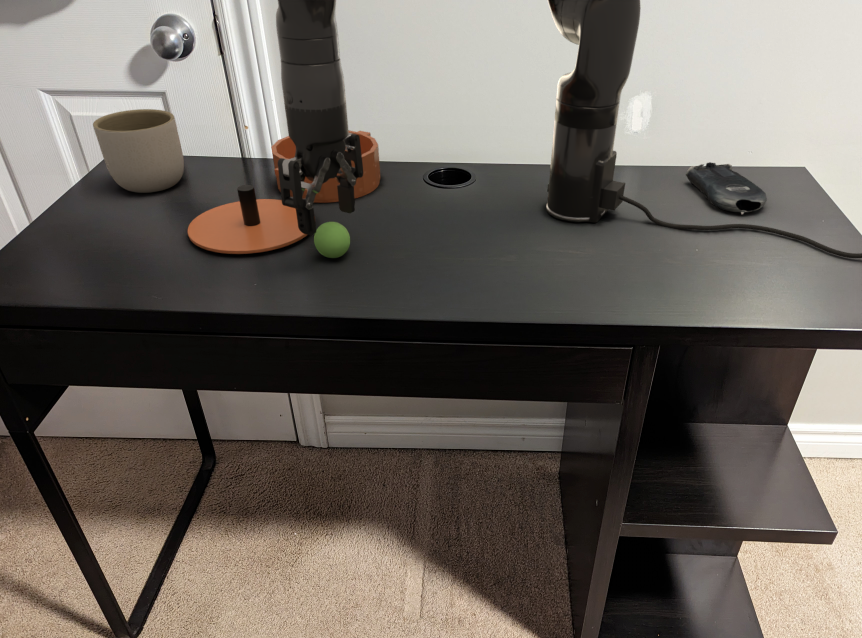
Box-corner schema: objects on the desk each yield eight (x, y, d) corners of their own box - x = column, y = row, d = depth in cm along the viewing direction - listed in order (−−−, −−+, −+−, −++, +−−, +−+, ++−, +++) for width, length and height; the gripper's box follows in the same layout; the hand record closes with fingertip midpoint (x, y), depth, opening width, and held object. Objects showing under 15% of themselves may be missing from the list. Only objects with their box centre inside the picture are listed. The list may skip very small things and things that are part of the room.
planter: (96, 191, 115) (74, 125, 109) (149, 167, 124) (132, 105, 118) (154, 203, 111) (135, 135, 105) (204, 177, 121) (190, 114, 114)
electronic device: (677, 191, 120) (722, 214, 108) (685, 159, 118) (733, 178, 105) (724, 195, 123) (773, 217, 110) (733, 163, 120) (785, 182, 107)
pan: (407, 171, 124) (405, 135, 120) (328, 216, 108) (323, 176, 104) (330, 155, 130) (326, 120, 127) (245, 195, 114) (237, 156, 110)
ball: (358, 253, 98) (355, 220, 95) (337, 267, 94) (333, 233, 91) (330, 245, 100) (327, 213, 97) (309, 259, 96) (304, 226, 93)
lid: (340, 220, 107) (336, 179, 103) (257, 269, 94) (248, 224, 90) (250, 197, 114) (243, 157, 110) (161, 239, 101) (149, 196, 97)
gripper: (301, 117, 77) (317, 248, 87) (373, 90, 87) (380, 210, 97) (251, 107, 80) (272, 235, 90) (326, 82, 90) (338, 199, 100)
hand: (328, 222), depth 94 cm, fingers open, 8 cm apart
